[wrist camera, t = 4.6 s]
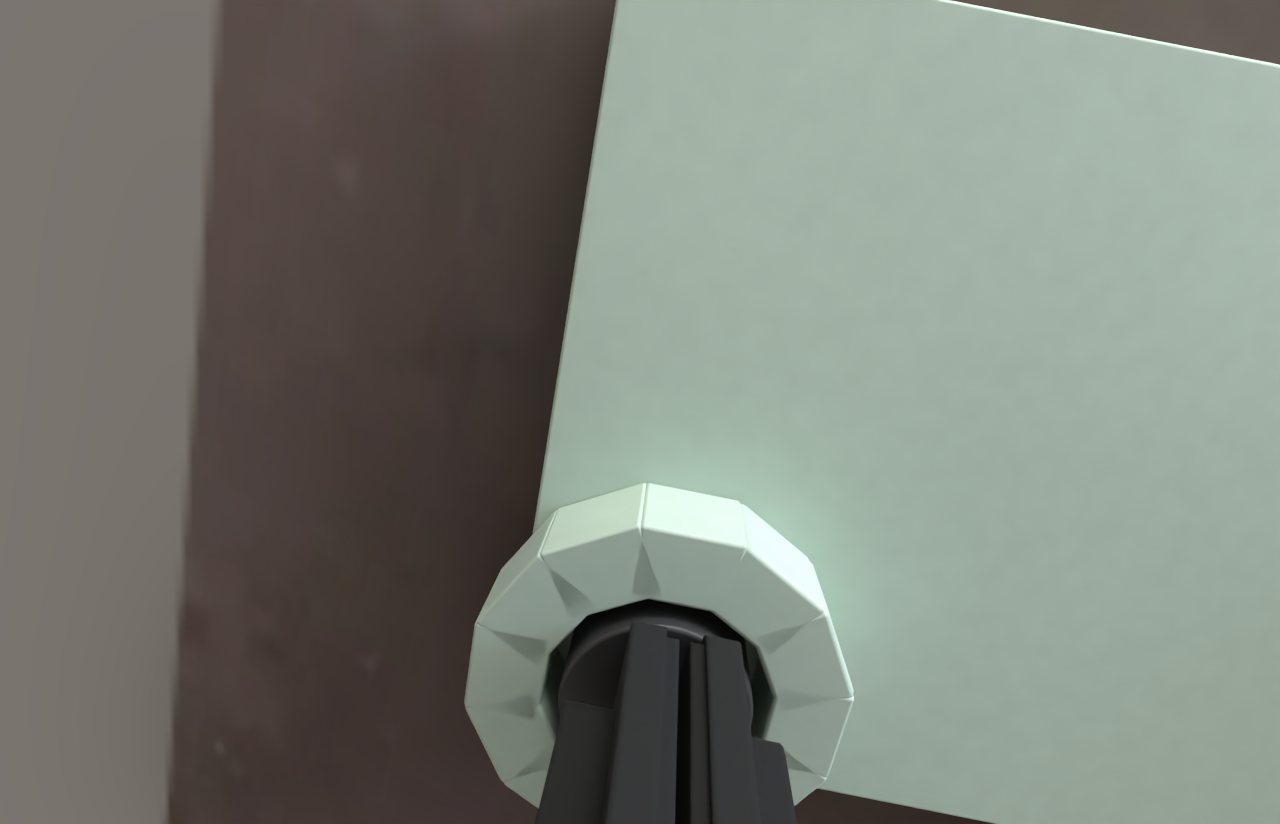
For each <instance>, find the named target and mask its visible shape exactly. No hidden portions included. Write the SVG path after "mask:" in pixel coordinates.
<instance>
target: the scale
mask: <svg viewBox="0 0 1280 824" xmlns="http://www.w3.org/2000/svg"><path fill="white" fill-rule="evenodd" d="M645 599H651V600H656V601H661V602H666V603H671V604H676V605H681V606H686V607H691V608H696V609H701V610H706V611H711V612H712V613H714V614H715V615H716V616H717V617H719V618H720V619H721V620H722V621H724V622H725V623H726V624H727V625H729V626H730V627H731V628H732V629H734V630H735V631H736V632H737V633H739V634H740V635H741V636H742V637H744V638H745V643H746V651H747V659H748V666H749V674H750V682H751V689H752V697H753V719H752V723H751V736H752V738H757V739H762V740H767V741H772V742H777V743H781V745H782V746H783V748H784V752H785V755H786V761H787V767H788V773H789V779H790V785H791V790H792V796H793V802H794V806H795V805H796V804H798V803H799V802H800V801H801V800H803V799H804V798H805V797H806V796H808V795H809V794H810V793H811V792H813V791H814V790H815V789H816V788H818V789H823V790H828V791H833V792H838V793H843V794H848V795H853V796H858V797H863V798H868V799H873V800H878V801H883V802H888V803H893V804H898V805H903V806H908V807H913V808H918V809H923V810H928V811H933V812H938V813H943V814H949V815H954V816H959V817H964V818H969V819H974V820H979V821H984V822H989V823H994V824H1280V65H1278V64H1273V63H1268V62H1263V61H1258V60H1253V59H1247V58H1242V57H1237V56H1232V55H1227V54H1222V53H1217V52H1212V51H1206V50H1201V49H1196V48H1191V47H1186V46H1181V45H1176V44H1171V43H1166V42H1160V41H1155V40H1150V39H1145V38H1140V37H1135V36H1130V35H1125V34H1119V33H1114V32H1109V31H1104V30H1099V29H1094V28H1089V27H1084V26H1079V25H1073V24H1068V23H1063V22H1058V21H1053V20H1048V19H1043V18H1038V17H1033V16H1027V15H1022V14H1017V13H1012V12H1007V11H1002V10H997V9H992V8H986V7H981V6H976V5H971V4H966V3H961V2H956V1H951V0H616V4H615V10H614V17H613V23H612V30H611V36H610V42H609V49H608V55H607V62H606V68H605V74H604V81H603V87H602V93H601V100H600V106H599V113H598V119H597V125H596V132H595V138H594V145H593V151H592V157H591V164H590V170H589V177H588V183H587V189H586V196H585V202H584V209H583V215H582V221H581V228H580V234H579V241H578V247H577V253H576V260H575V266H574V273H573V279H572V285H571V292H570V298H569V305H568V311H567V317H566V324H565V330H564V336H563V343H562V349H561V356H560V362H559V368H558V375H557V381H556V388H555V394H554V400H553V407H552V413H551V420H550V426H549V432H548V439H547V445H546V452H545V458H544V464H543V471H542V477H541V484H540V490H539V496H538V503H537V509H536V516H535V522H534V528H533V535H532V536H531V537H530V538H529V539H528V540H527V542H526V543H525V544H524V545H523V546H522V547H521V548H520V549H519V550H518V551H517V553H516V554H515V555H514V556H513V557H512V558H511V559H510V560H509V561H508V562H507V563H506V565H505V566H504V567H503V568H502V569H501V571H500V573H499V575H498V577H497V579H496V581H495V583H494V585H493V587H492V589H491V591H490V593H489V596H488V598H487V600H486V602H485V604H484V606H483V608H482V610H481V612H480V614H479V616H478V618H477V620H476V622H475V625H474V633H473V640H472V648H471V655H470V662H469V670H468V677H467V685H466V692H465V700H464V704H465V706H466V711H467V713H468V715H469V717H470V719H471V721H472V723H473V725H474V727H475V729H476V731H477V733H478V735H479V737H480V739H481V741H482V743H483V745H484V747H485V749H486V751H487V753H488V755H489V757H490V759H491V761H492V764H493V766H494V768H495V770H496V772H497V774H498V776H499V778H500V780H501V781H503V782H504V784H505V785H506V786H507V787H509V788H510V789H511V790H513V791H514V792H516V793H517V794H519V795H520V796H521V797H523V798H524V799H526V800H527V801H528V802H530V803H531V804H533V805H534V806H535V807H537V808H538V809H539V805H540V801H541V797H542V793H543V789H544V785H545V780H546V776H547V772H548V768H549V764H550V760H551V756H552V752H553V748H554V744H555V740H556V735H557V731H558V727H559V723H560V714H559V708H558V694H559V687H560V683H561V679H562V675H563V671H564V667H565V663H566V659H567V655H568V652H569V648H570V644H571V640H572V636H573V632H574V628H575V627H576V626H577V625H578V624H579V623H580V622H581V621H582V620H583V619H584V618H585V617H586V616H587V615H591V614H594V613H598V612H601V611H605V610H609V609H612V608H616V607H620V606H623V605H627V604H631V603H634V602H638V601H642V600H645Z"/></svg>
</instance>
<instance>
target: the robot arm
mask: <svg viewBox="0 0 1280 824" xmlns="http://www.w3.org/2000/svg"><path fill="white" fill-rule="evenodd" d="M678 675H679V639H674V638H669V637H667V627H664V626H659V625H654V624H649V623H644V622H639V621H634V620H632V623H631V627H630V632H629V636H628V641H627V646H626V650H625V655H624V660H623V665H622V669H621V674H620V679H619V683H618V688H617V693H616V697H615V702H614V707H613V709H609V708H604V707H599V706H594V705H590V704H585V703H580V702H575V701H570V700H565V703H564V707H563V711H562V715H561V719H560V723H559V727H558V731H557V735H556V740H555V744H554V748H553V752H552V756H551V760H550V764H549V768H548V772H547V776H546V780H545V785H544V789H543V793H542V797H541V801H540V805H539V809H538V813H537V817H536V821H535V824H797V820H796V814H795V808H794V802H793V796H792V790H791V785H790V779H789V773H788V767H787V761H786V755H785V752H784V748H783V746H782V745H781V743H777V742H772V741H767V740H762V739H757V738H752V736H751V727H750V718H749V709H748V700H747V691H746V682H745V673H744V664H743V655H742V647H741V643H740V642H738V641H733V640H728V639H724V638H719V637H714V636H709V635H704V637H703V639H702V642H701V644H699V643H694V642H689V644H688V647H687V650H686V654H685V659H684V663H683V667H682V671H681V675H680V679H679V683H678Z"/></svg>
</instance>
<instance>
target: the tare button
mask: <svg viewBox="0 0 1280 824" xmlns="http://www.w3.org/2000/svg"><path fill="white" fill-rule="evenodd" d="M632 620H634V621H639V622H644V623H649V624H654V625H659V626H664V627H667V637H669V638H674V639H679V675H678V683H679V679H680V675H681V671H682V667H683V663H684V659H685V654H686V650H687V647H688V644H689V642H694V643H699V644H701V642H702V639H703V637H704V635H709V636H714V637H719V638H724V639H728V640H733V641H738V642H740V643H741V647H742V655H743V664H744V673H745V682H746V691H747V700H748V709H749V718H750V727H751V723H752V719H753V697H752V689H751V682H750V674H749V666H748V659H747V651H746V643H745V638H744V637H742V636H741V635H740V634H739V633H737V632H736V631H735V630H734V629H732V628H731V627H730V626H729V625H727V624H726V623H725V622H724V621H722V620H721V619H720V618H719V617H717V616H716V615H715V614H714V613H712V612H711V611H706V610H701V609H696V608H691V607H686V606H681V605H676V604H671V603H666V602H661V601H656V600H651V599H645V600H642V601H638V602H634V603H631V604H627V605H623V606H620V607H616V608H612V609H609V610H605V611H601V612H598V613H594V614H591V615H587V616H586V617H585V618H584V619H583V620H582V621H581V622H580V623H579V624H578V625H577V626H576V627H575V628H574V632H573V636H572V640H571V644H570V648H569V652H568V655H567V659H566V663H565V667H564V671H563V675H562V679H561V683H560V687H559V694H558V708H559V714H560V719H561V715H562V711H563V707H564V703H565V700H570V701H575V702H580V703H585V704H590V705H594V706H599V707H604V708H609V709H613V707H614V702H615V697H616V693H617V688H618V683H619V679H620V674H621V669H622V665H623V660H624V655H625V650H626V646H627V641H628V636H629V632H630V627H631V623H632Z"/></svg>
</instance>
